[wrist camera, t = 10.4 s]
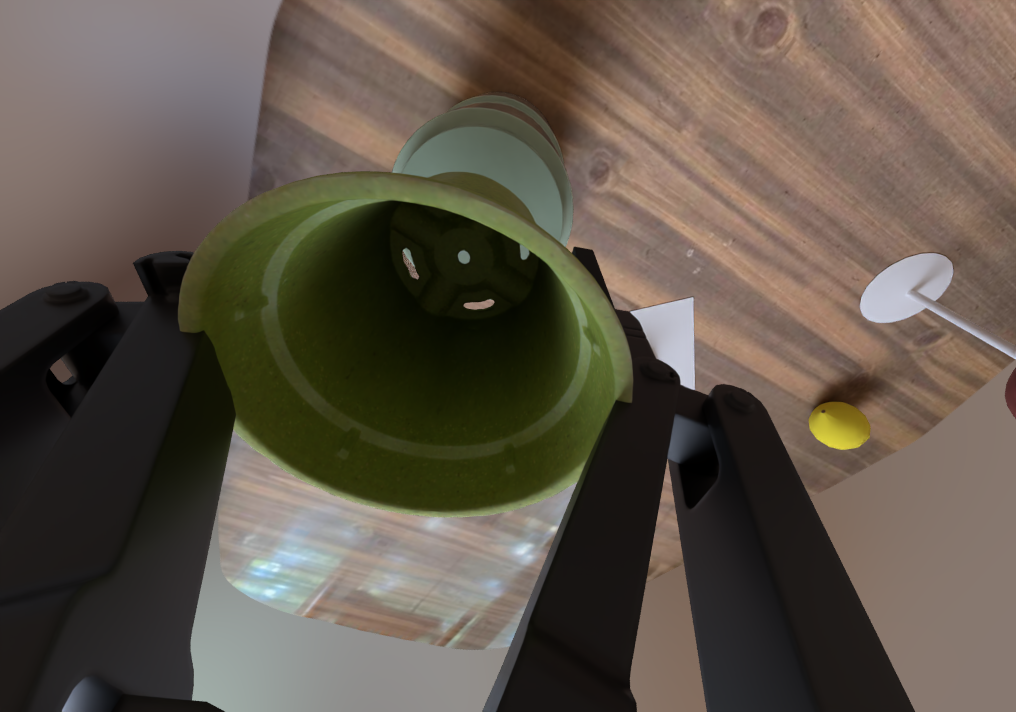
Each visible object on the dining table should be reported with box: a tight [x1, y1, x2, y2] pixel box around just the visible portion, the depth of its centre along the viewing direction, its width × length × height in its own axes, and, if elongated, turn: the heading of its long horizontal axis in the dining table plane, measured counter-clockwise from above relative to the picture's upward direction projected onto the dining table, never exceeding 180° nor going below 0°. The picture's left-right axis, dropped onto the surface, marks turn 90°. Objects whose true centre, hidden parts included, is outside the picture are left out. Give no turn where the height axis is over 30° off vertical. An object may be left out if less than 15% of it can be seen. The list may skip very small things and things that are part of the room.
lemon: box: [809, 402, 870, 450], centre depth 44 cm, size 7×5×5 cm
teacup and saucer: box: [630, 297, 695, 390], centre depth 42 cm, size 9×8×4 cm
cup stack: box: [392, 92, 574, 300], centre depth 25 cm, size 10×10×16 cm
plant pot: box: [178, 171, 633, 517], centre depth 12 cm, size 9×9×9 cm
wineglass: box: [860, 253, 1016, 418], centre depth 28 cm, size 8×9×20 cm
